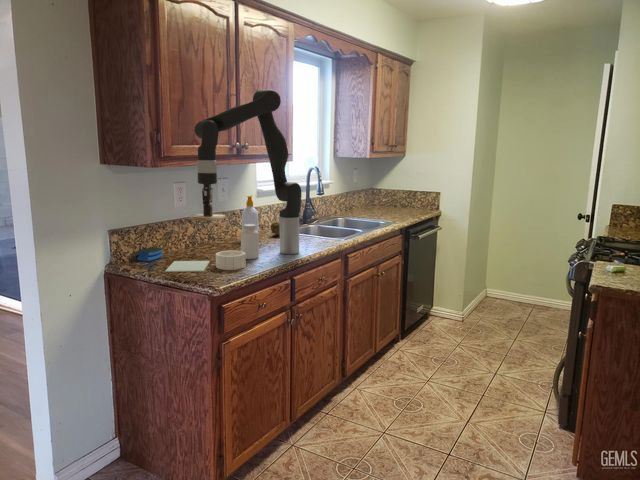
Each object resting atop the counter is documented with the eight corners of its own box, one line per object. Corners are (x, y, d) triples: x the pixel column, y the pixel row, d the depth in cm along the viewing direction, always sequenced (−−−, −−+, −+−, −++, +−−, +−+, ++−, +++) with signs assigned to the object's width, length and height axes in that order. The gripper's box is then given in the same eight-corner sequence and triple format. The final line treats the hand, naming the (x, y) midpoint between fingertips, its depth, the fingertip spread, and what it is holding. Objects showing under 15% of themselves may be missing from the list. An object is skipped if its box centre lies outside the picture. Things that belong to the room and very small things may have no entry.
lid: (193, 216, 204) (192, 201, 203) (226, 216, 205) (226, 202, 204) (187, 220, 190) (187, 205, 189) (223, 220, 192) (223, 205, 191)
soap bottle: (260, 239, 263) (259, 195, 259) (256, 242, 254) (255, 197, 250) (245, 238, 264) (244, 194, 260) (240, 241, 255) (239, 196, 251)
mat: (174, 262, 209) (174, 261, 209) (209, 261, 211) (209, 260, 210) (165, 272, 193) (165, 270, 193) (203, 271, 194) (203, 270, 194)
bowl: (218, 263, 208) (217, 250, 207) (246, 262, 210) (246, 250, 208) (214, 270, 197) (214, 256, 196) (244, 269, 198) (244, 256, 197)
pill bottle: (251, 260, 214) (250, 226, 211) (237, 258, 218) (236, 225, 215) (262, 257, 221) (262, 224, 218) (248, 254, 225) (248, 222, 222)
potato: (291, 234, 277) (291, 220, 276) (277, 238, 267) (277, 223, 265) (279, 233, 282) (279, 219, 280) (265, 236, 271) (265, 222, 270)
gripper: (214, 172, 188) (215, 216, 191) (218, 171, 202) (219, 212, 205) (194, 172, 187) (195, 216, 190) (200, 171, 201) (200, 212, 204)
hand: (207, 214), depth 198 cm, fingers closed on lid, 3 cm apart
